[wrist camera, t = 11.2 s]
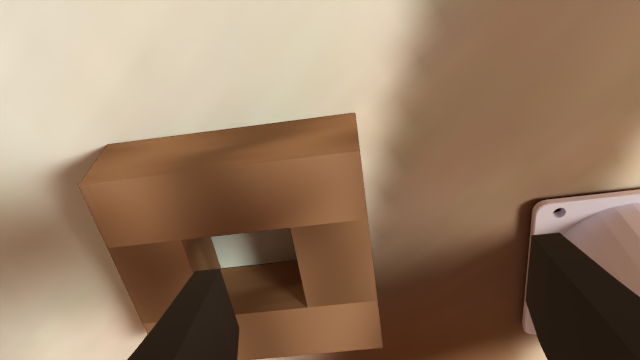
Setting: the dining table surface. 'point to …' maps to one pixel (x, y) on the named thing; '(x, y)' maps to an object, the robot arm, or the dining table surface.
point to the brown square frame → (247, 229)
